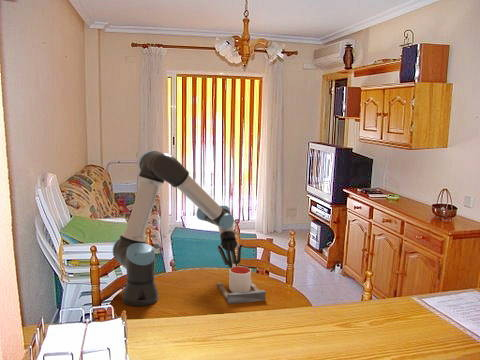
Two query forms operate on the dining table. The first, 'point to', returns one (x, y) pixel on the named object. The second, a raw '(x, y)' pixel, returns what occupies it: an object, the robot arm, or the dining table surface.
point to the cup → (239, 279)
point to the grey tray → (242, 294)
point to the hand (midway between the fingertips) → (235, 277)
